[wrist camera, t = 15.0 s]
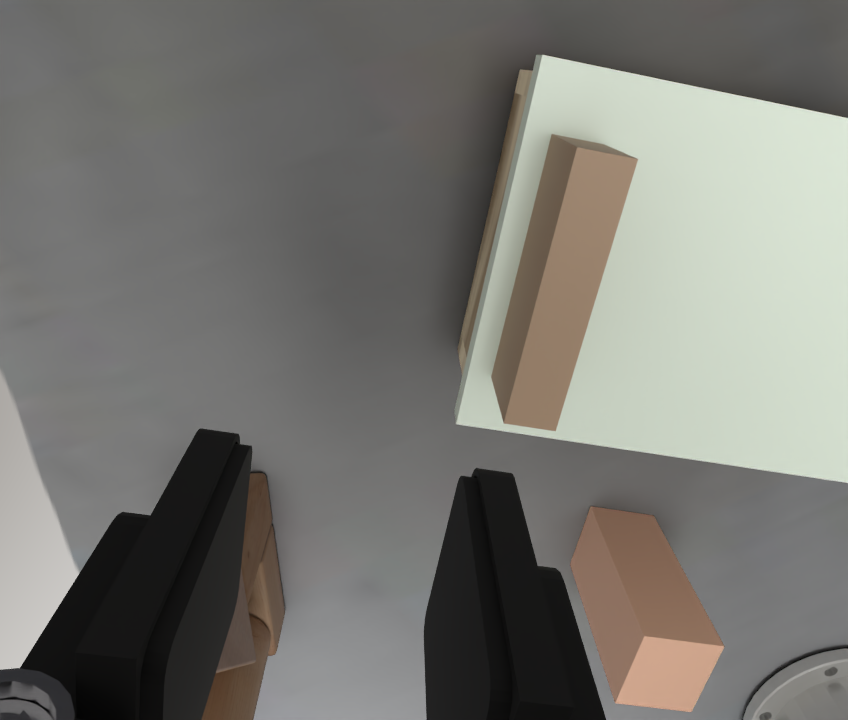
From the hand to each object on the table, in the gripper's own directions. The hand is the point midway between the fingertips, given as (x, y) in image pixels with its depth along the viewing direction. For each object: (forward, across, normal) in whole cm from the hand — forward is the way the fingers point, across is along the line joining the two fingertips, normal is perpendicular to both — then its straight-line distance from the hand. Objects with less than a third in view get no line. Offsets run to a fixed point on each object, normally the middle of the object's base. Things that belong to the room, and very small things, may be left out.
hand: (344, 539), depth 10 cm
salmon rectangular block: (+25, -17, +18) cm, 35 cm away
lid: (+19, -15, 0) cm, 24 cm away
